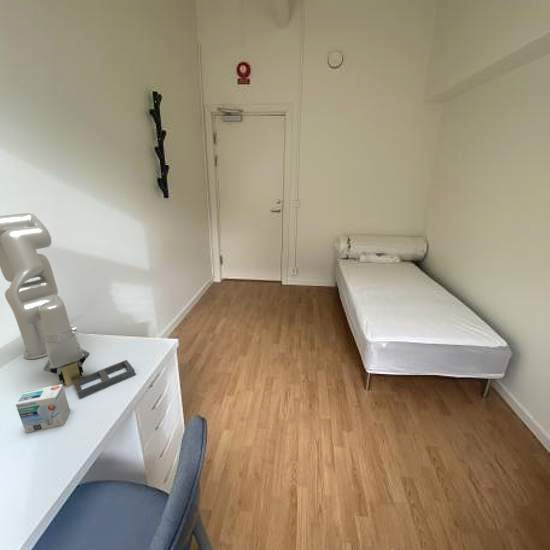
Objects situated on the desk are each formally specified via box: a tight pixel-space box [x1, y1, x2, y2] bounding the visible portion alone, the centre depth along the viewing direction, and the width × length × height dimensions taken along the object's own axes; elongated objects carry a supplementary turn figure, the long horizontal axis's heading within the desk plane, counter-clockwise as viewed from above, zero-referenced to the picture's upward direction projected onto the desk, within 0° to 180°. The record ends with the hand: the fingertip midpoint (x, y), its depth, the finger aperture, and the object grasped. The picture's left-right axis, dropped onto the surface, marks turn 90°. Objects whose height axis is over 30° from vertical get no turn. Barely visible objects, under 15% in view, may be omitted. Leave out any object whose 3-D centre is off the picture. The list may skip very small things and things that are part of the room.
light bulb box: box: [15, 383, 71, 434], centre depth 99 cm, size 11×7×11 cm, turn 105°
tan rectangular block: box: [61, 361, 82, 388], centre depth 119 cm, size 5×5×8 cm
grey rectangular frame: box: [72, 359, 136, 400], centre depth 119 cm, size 9×19×2 cm, turn 131°
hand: (72, 377), depth 120 cm, fingers closed on tan rectangular block, 5 cm apart
